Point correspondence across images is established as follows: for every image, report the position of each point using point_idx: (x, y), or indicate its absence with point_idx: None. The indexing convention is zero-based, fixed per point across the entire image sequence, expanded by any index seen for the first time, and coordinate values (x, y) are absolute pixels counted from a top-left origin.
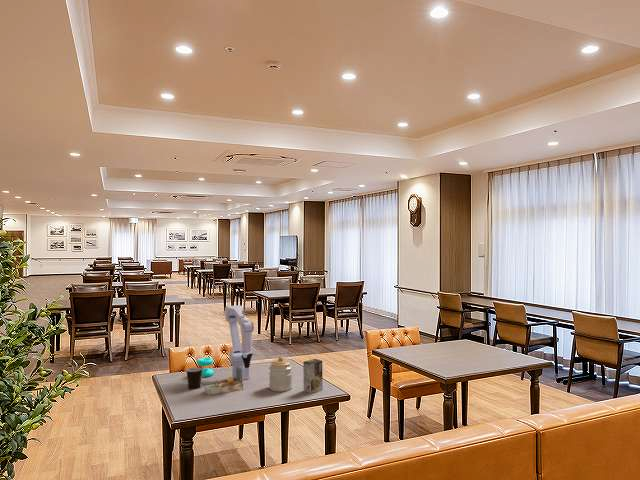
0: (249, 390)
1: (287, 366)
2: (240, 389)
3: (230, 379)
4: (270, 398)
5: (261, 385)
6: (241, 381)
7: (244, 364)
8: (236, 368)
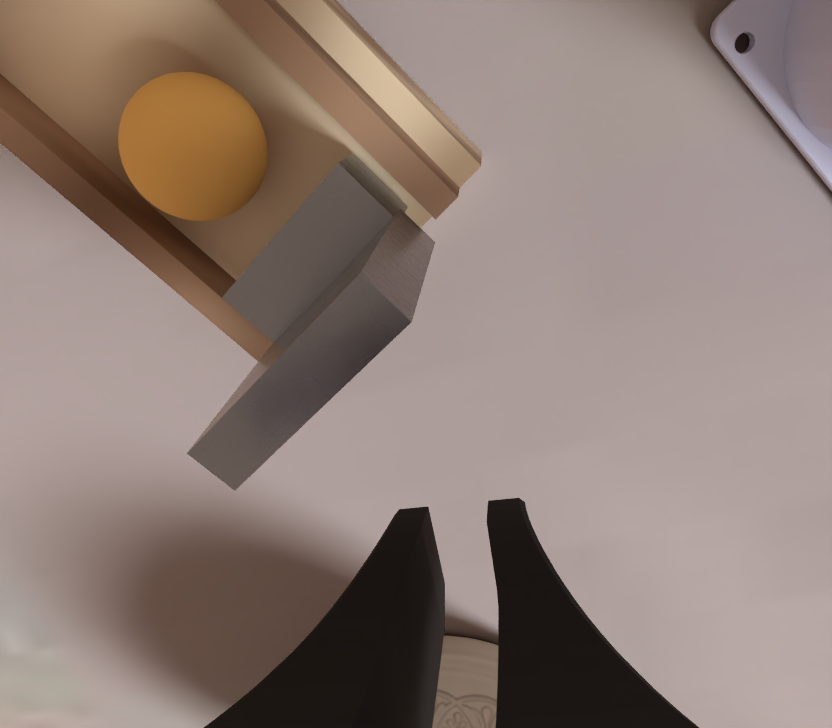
0: None
1: None
2: None
3: (128, 175)
4: (112, 688)
5: None
6: None
7: (364, 572)
8: (358, 269)
